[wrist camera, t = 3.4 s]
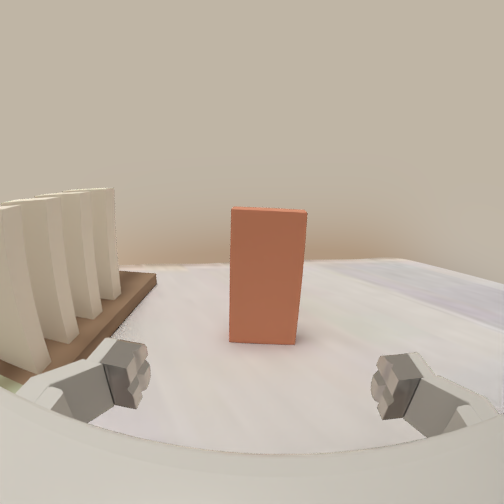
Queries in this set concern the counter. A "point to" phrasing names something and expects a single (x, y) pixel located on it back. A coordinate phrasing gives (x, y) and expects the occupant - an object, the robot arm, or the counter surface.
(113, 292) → the ivory tile
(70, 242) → the ivory tile
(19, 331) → the ivory tile
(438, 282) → the counter surface
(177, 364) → the counter surface
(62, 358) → the walnut board
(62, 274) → the ivory tile
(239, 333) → the rust tile
